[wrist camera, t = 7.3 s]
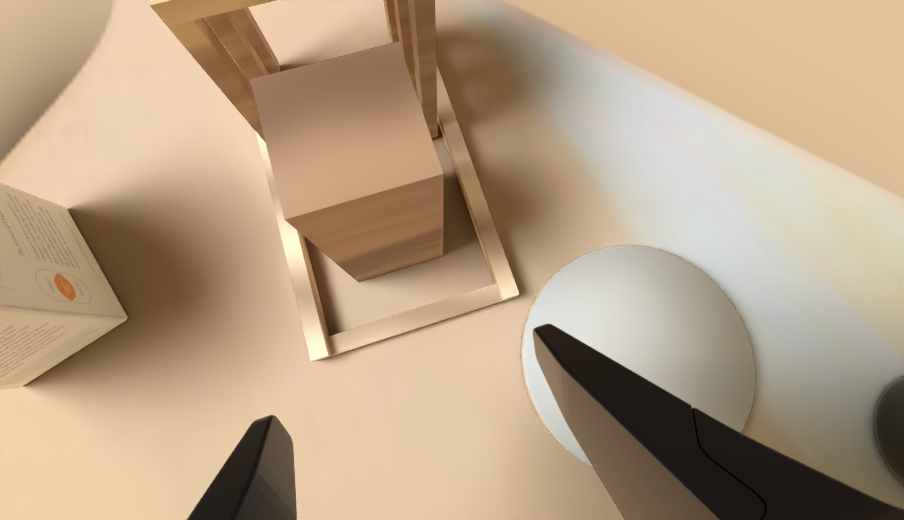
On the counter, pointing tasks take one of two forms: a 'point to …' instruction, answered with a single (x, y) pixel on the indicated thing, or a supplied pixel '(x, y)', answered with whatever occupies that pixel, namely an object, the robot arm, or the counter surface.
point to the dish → (645, 332)
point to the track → (373, 332)
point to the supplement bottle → (891, 427)
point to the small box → (46, 289)
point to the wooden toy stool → (227, 13)
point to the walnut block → (355, 160)
